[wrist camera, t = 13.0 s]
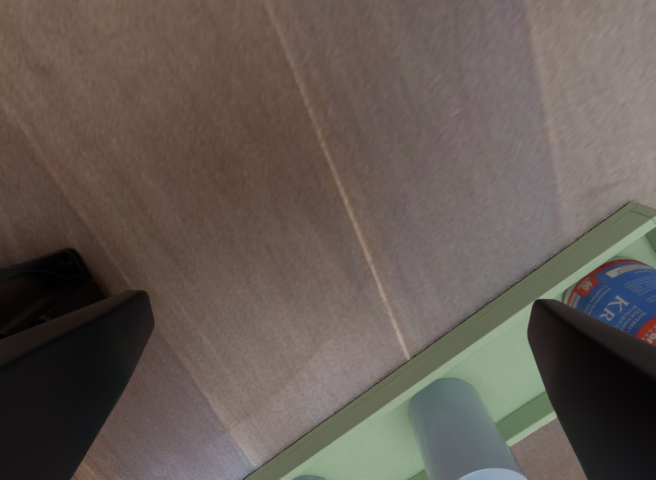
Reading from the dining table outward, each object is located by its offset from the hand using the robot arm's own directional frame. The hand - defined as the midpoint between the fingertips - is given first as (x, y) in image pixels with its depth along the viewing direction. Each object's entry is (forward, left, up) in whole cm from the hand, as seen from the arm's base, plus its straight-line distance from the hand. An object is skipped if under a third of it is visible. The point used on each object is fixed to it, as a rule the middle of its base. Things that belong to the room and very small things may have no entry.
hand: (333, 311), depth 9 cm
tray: (+3, -16, -13) cm, 21 cm away
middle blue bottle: (+3, -16, -12) cm, 20 cm away
